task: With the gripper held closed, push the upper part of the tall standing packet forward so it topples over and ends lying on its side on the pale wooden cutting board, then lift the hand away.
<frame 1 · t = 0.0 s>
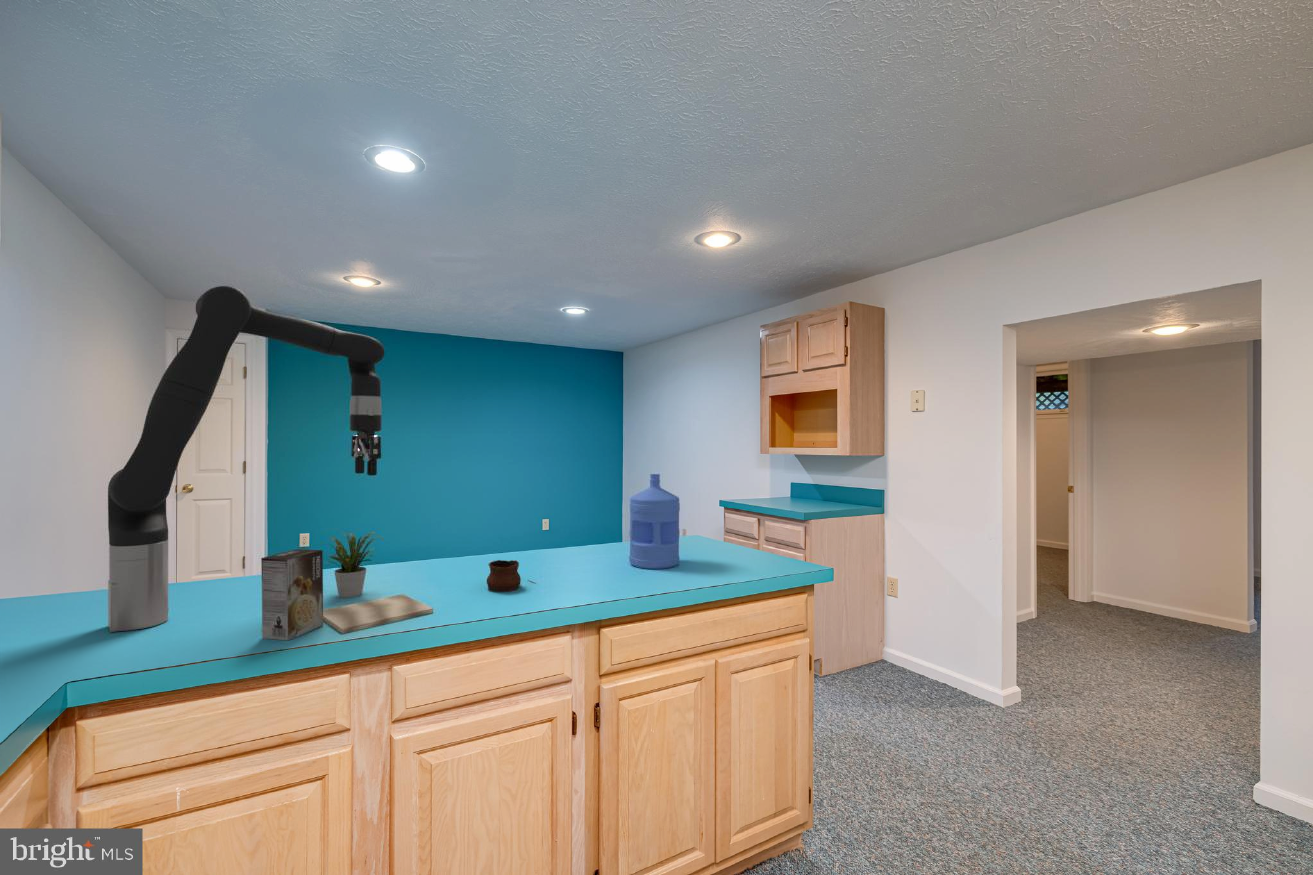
hand: (365, 474, 153), 29 cm above the worktop, tool pointing down, fingers open, 8 cm apart
ceramic pot: (503, 590, 151), on the worktop
coffee box: (293, 633, 117), on the worktop
cutting board: (375, 614, 128), on the worktop
house plant: (356, 594, 144), on the worktop
water jug: (654, 564, 180), on the worktop
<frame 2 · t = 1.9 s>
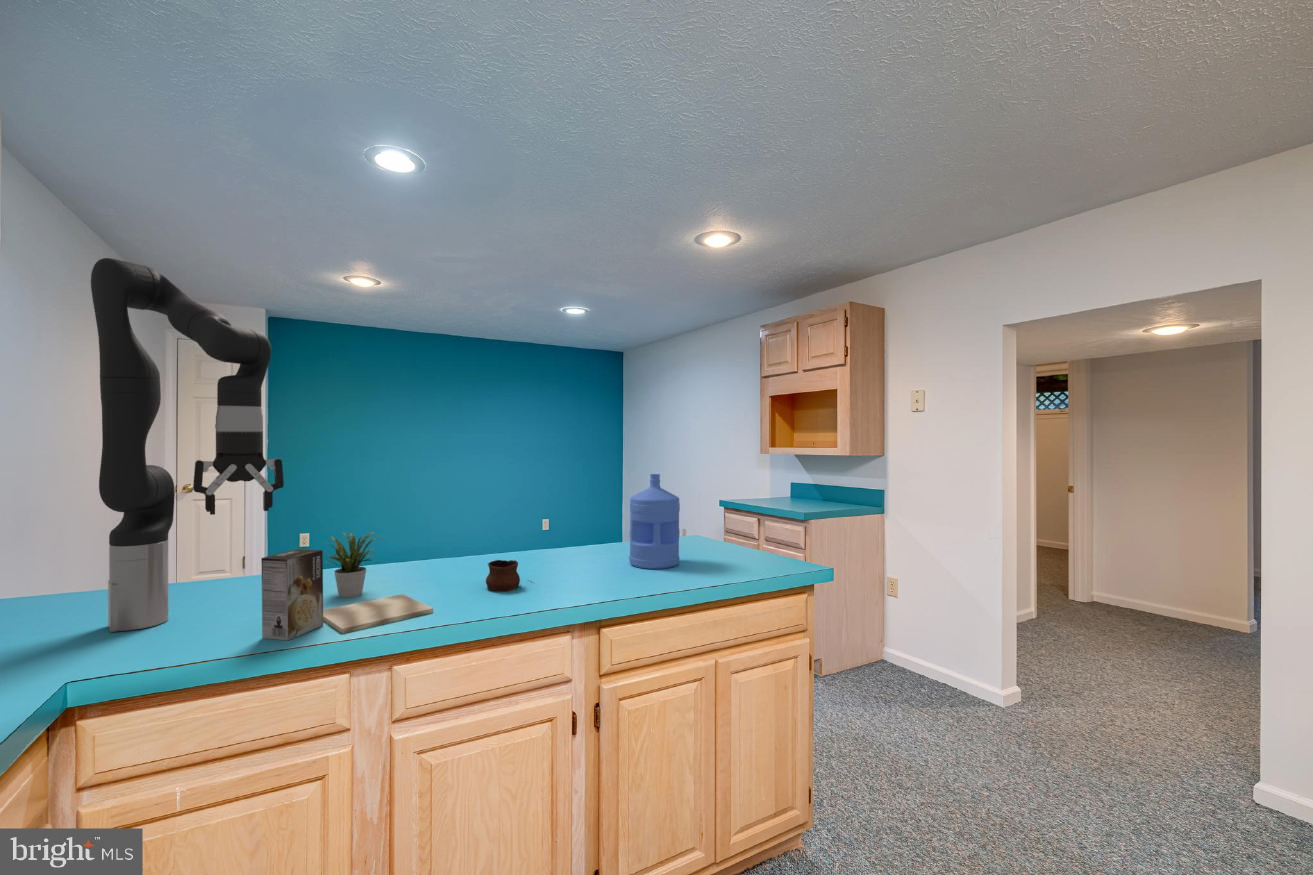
hand: (240, 512, 113), 25 cm above the worktop, tool pointing down, fingers open, 8 cm apart
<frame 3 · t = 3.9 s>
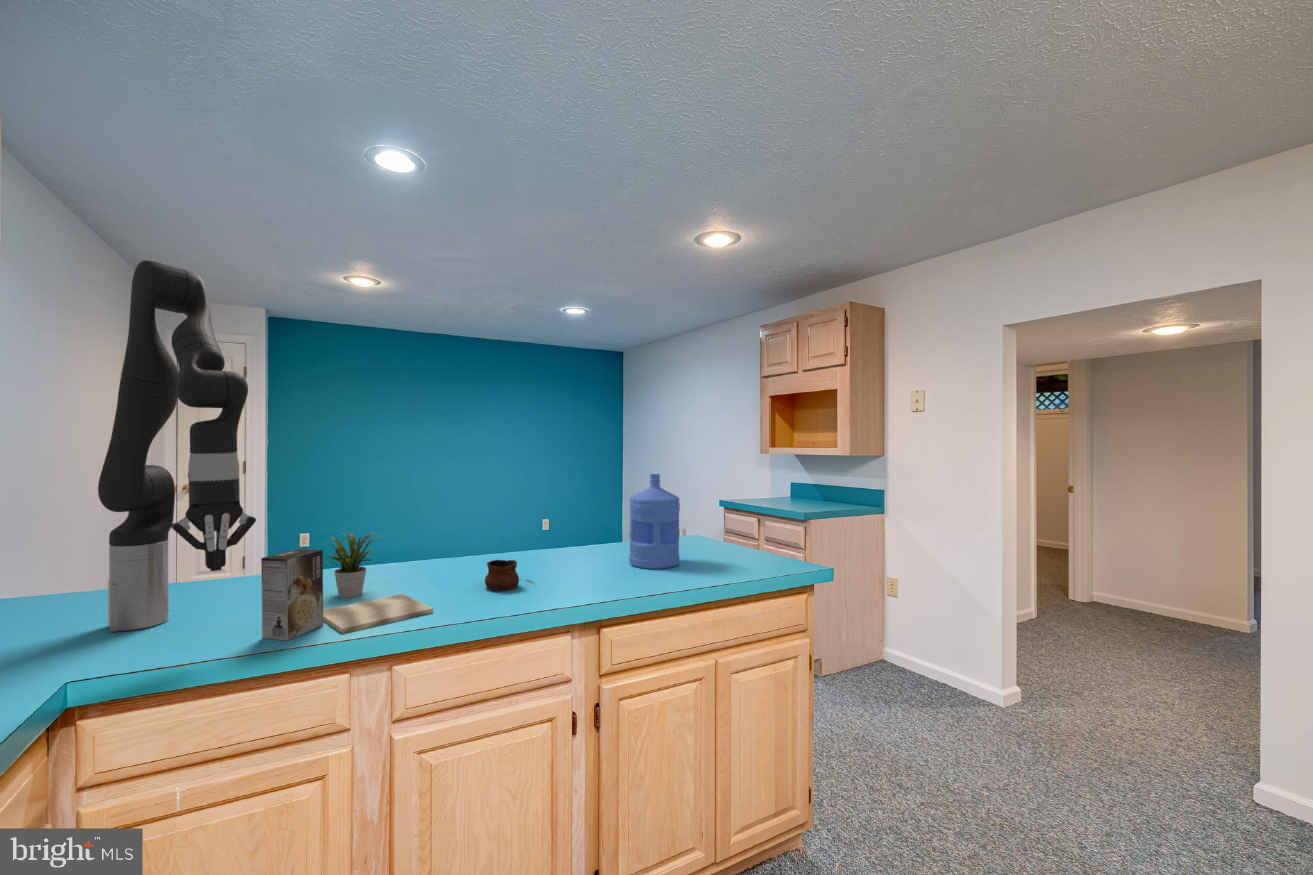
hand: (215, 569, 107), 15 cm above the worktop, tool pointing down, fingers closed
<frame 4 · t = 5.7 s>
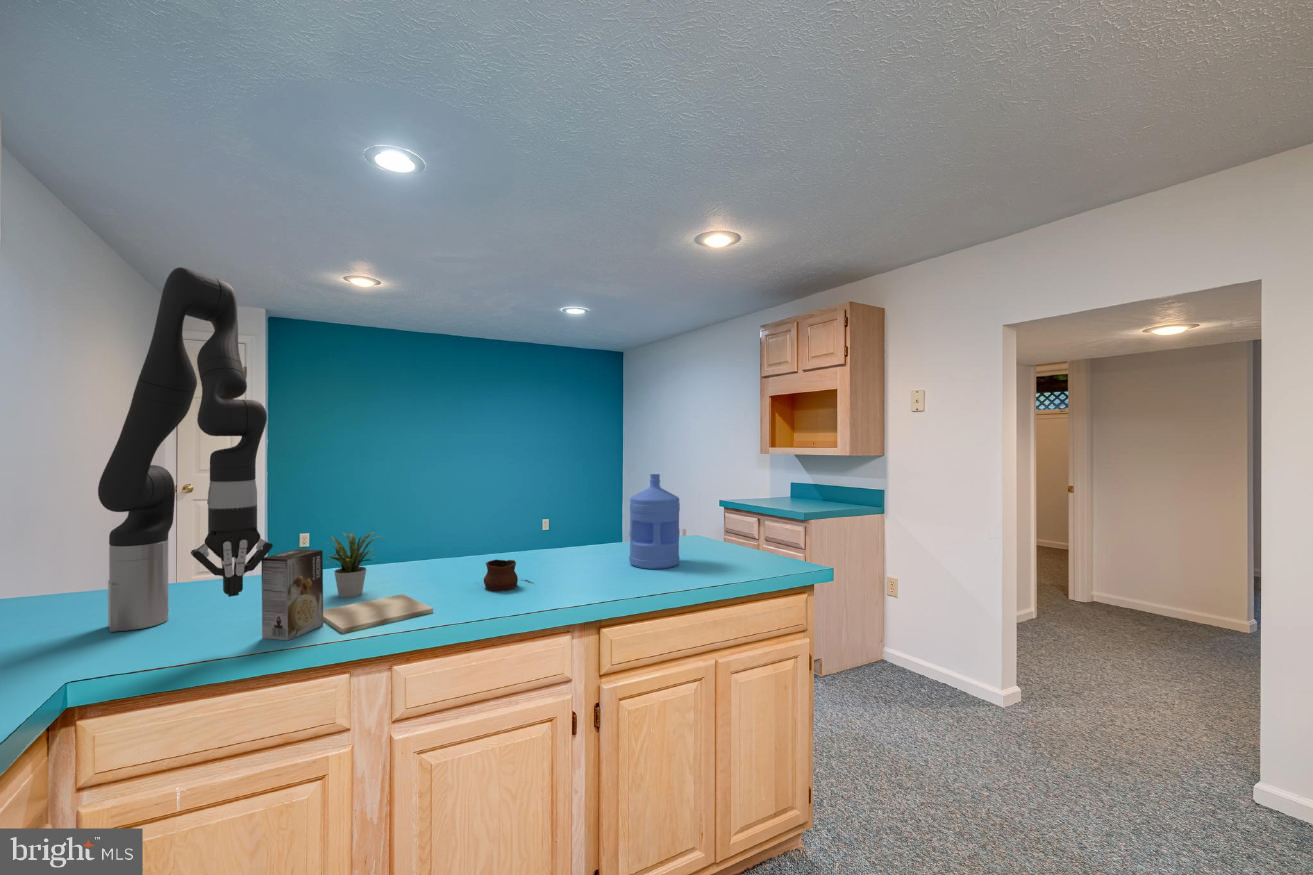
hand: (233, 595, 109), 10 cm above the worktop, tool pointing down, fingers closed
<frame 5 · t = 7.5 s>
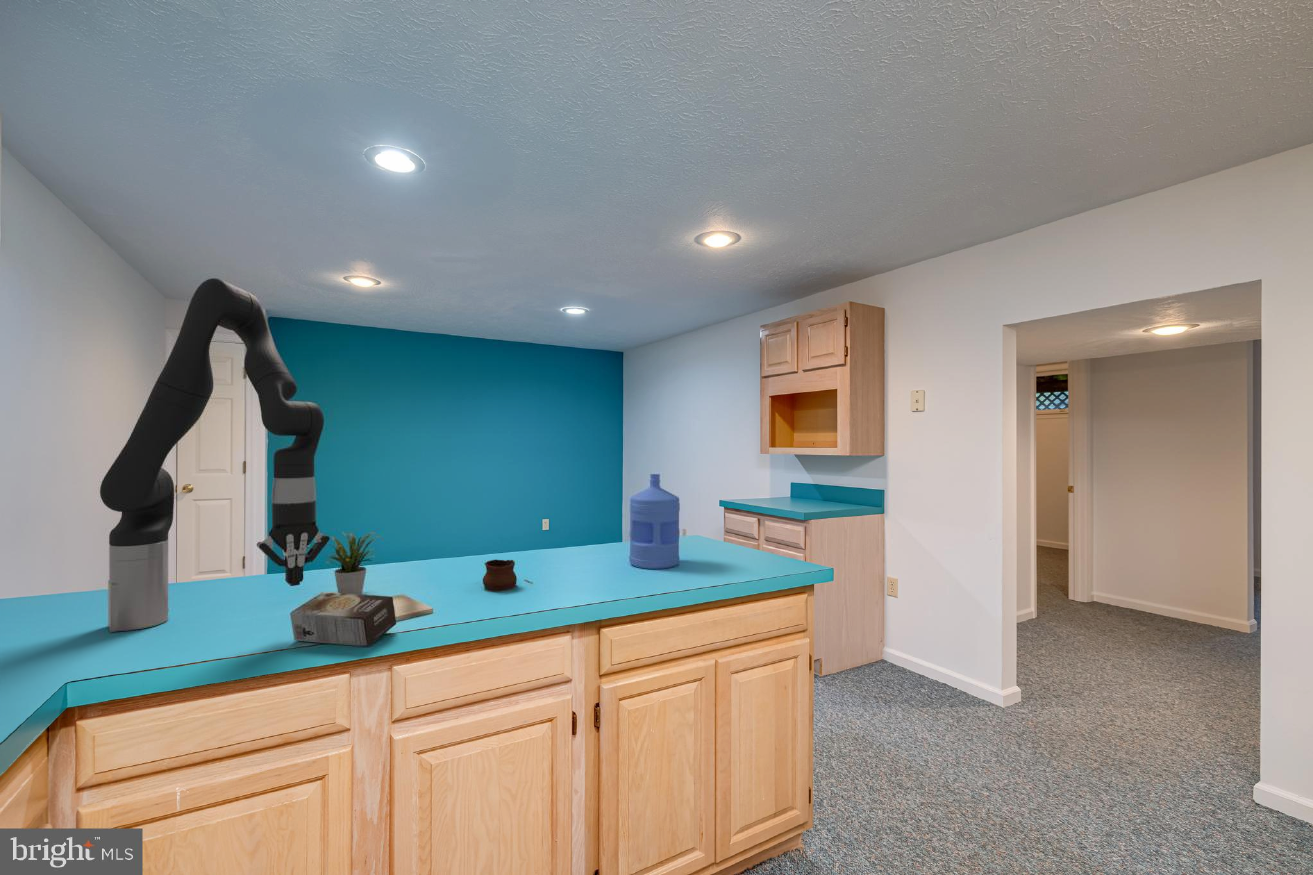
hand: (294, 584, 117), 10 cm above the worktop, tool pointing down, fingers closed
coffee box: (307, 615, 115), point 4 cm above the worktop, touching cutting board
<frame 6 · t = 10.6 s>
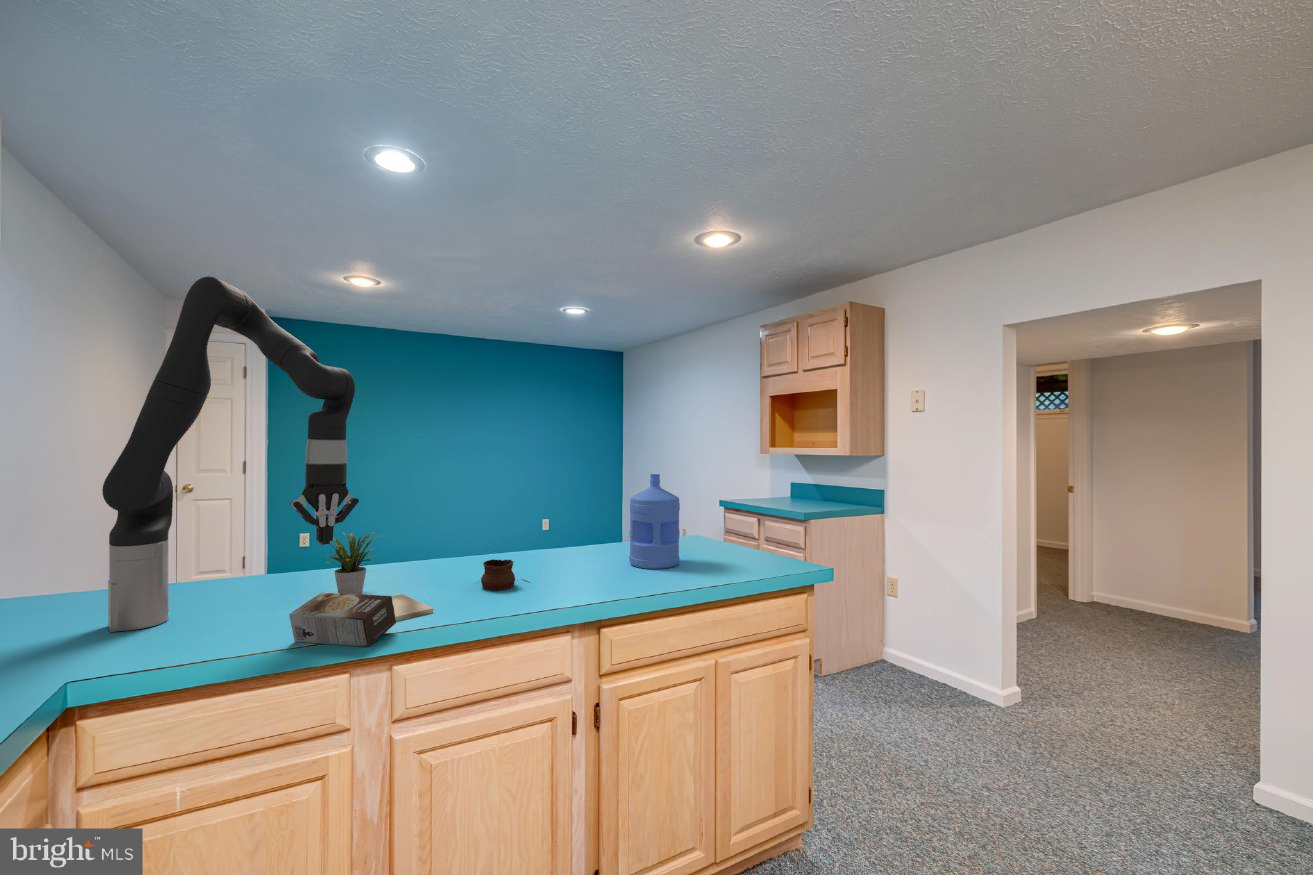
hand: (324, 543, 120), 17 cm above the worktop, tool pointing down, fingers closed
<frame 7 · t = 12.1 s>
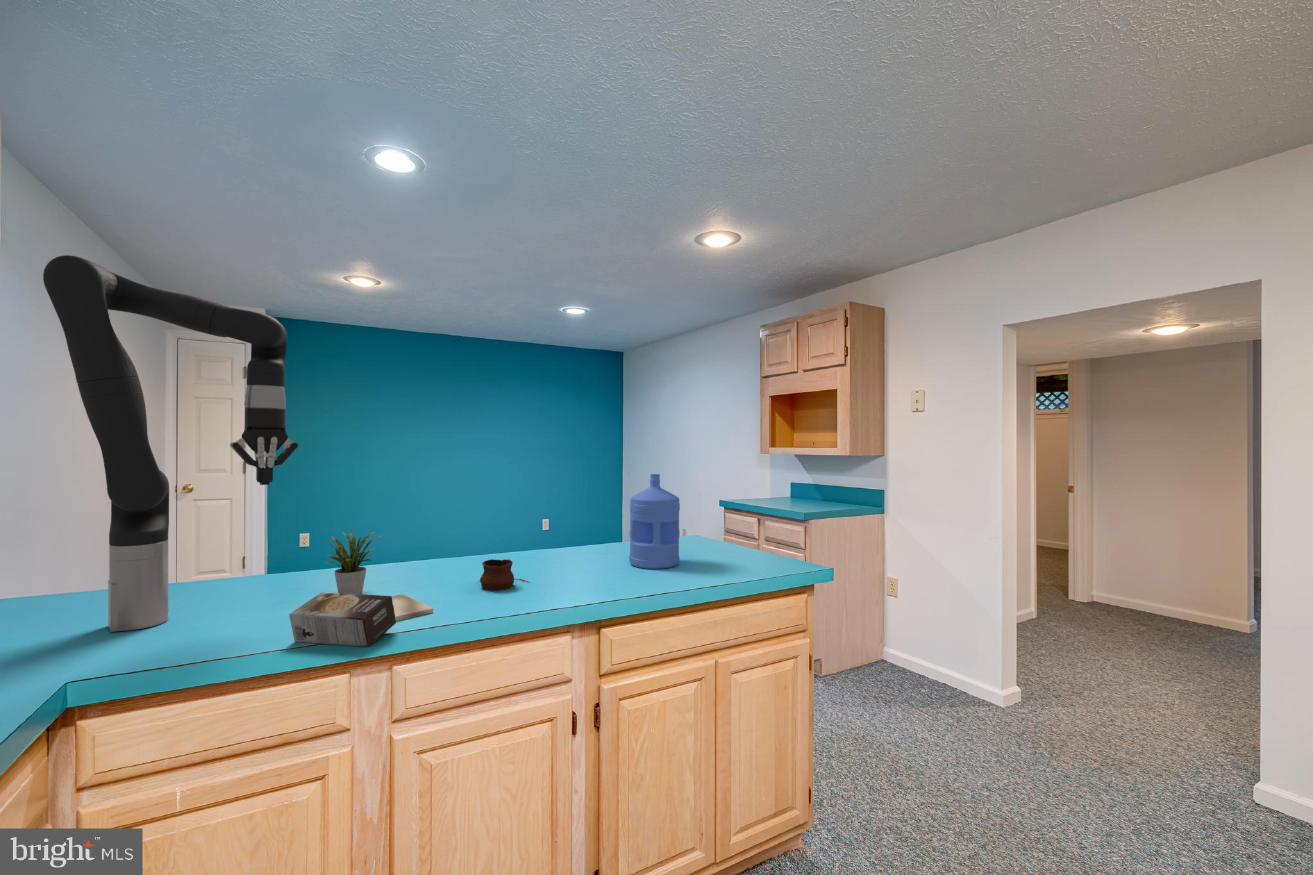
hand: (264, 484, 128), 29 cm above the worktop, tool pointing down, fingers closed
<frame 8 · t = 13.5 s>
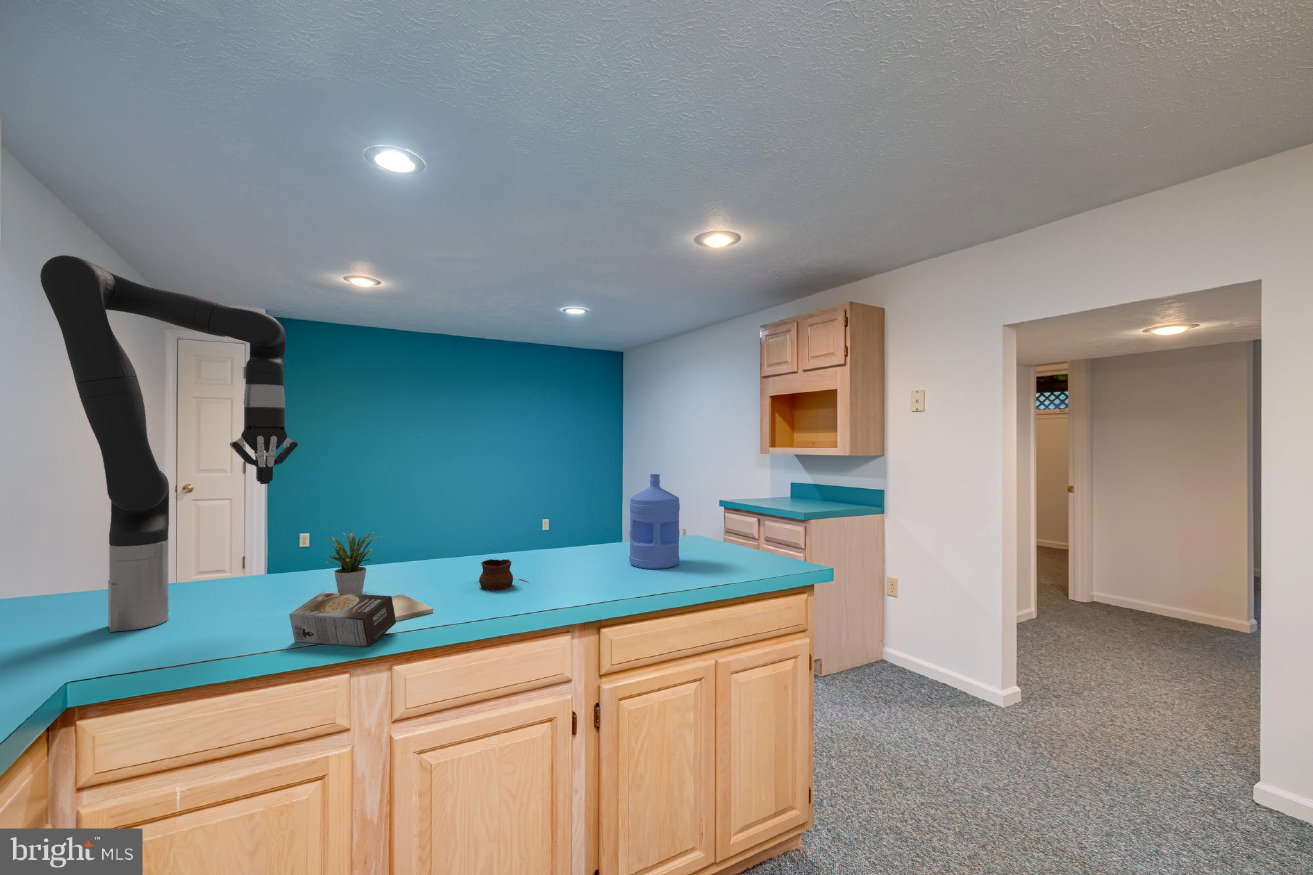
hand: (264, 483, 128), 29 cm above the worktop, tool pointing down, fingers closed
at the end: coffee box tilted 90°; coffee box inside the target area (6.7 cm from its centre), point 3.8 cm above the worktop; coffee box touching cutting board, worktop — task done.
